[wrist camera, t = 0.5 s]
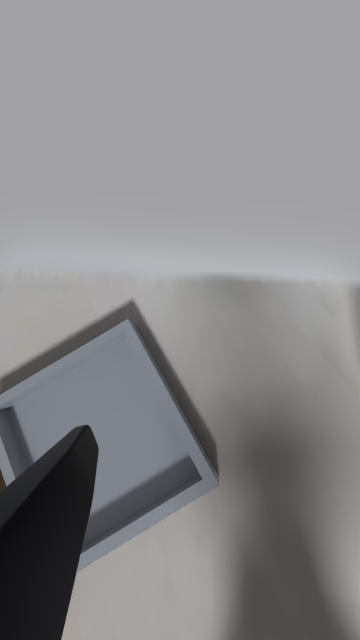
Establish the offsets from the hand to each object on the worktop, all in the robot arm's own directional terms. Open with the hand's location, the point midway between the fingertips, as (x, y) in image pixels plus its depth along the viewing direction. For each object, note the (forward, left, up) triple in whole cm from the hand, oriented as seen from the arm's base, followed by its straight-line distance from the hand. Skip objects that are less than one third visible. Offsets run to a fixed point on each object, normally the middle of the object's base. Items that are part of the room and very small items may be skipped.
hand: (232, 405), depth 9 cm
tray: (+2, +10, -15) cm, 18 cm away
